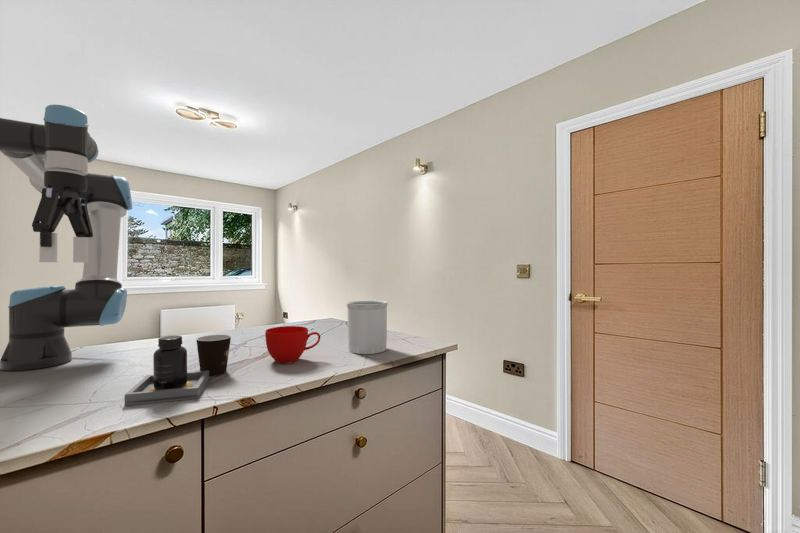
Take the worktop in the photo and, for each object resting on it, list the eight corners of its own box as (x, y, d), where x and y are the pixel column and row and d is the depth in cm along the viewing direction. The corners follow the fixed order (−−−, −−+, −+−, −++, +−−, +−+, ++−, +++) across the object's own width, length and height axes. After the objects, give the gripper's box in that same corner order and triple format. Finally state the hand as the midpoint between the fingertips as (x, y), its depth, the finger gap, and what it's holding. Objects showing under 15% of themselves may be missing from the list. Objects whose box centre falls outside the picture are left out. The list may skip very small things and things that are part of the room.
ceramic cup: (320, 364, 109) (320, 332, 109) (262, 367, 105) (262, 334, 105) (320, 354, 122) (320, 325, 122) (268, 356, 118) (268, 326, 118)
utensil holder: (340, 353, 123) (341, 303, 123) (353, 344, 137) (353, 299, 137) (382, 356, 120) (382, 304, 120) (390, 346, 135) (391, 300, 135)
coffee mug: (216, 379, 94) (216, 341, 94) (188, 376, 96) (188, 340, 96) (243, 366, 106) (244, 333, 106) (218, 365, 108) (218, 332, 108)
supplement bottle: (163, 382, 88) (164, 334, 88) (192, 382, 89) (192, 334, 89) (146, 392, 82) (147, 340, 81) (177, 391, 82) (178, 340, 82)
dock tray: (146, 384, 89) (147, 375, 89) (209, 379, 94) (209, 370, 94) (124, 405, 76) (124, 394, 76) (198, 398, 81) (198, 387, 81)
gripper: (74, 183, 95) (74, 262, 95) (8, 157, 72) (7, 261, 72) (108, 185, 98) (108, 262, 98) (55, 161, 74) (54, 262, 74)
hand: (65, 262), depth 85 cm, fingers open, 13 cm apart
